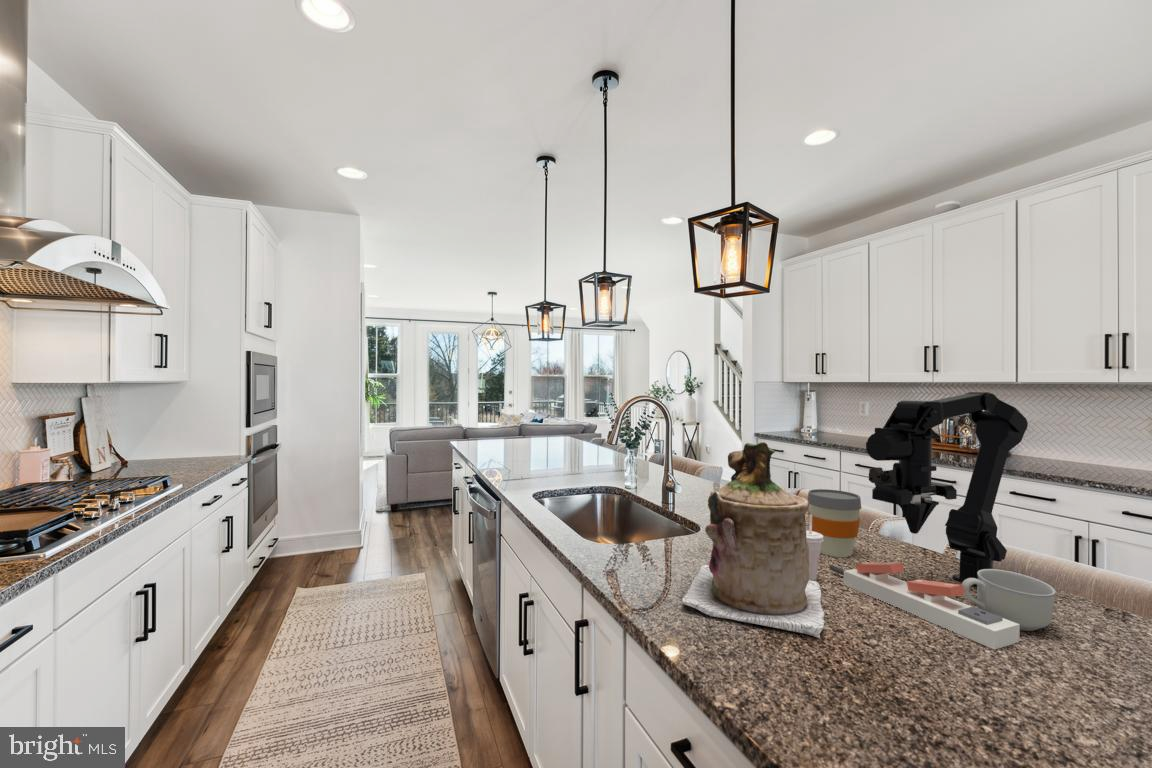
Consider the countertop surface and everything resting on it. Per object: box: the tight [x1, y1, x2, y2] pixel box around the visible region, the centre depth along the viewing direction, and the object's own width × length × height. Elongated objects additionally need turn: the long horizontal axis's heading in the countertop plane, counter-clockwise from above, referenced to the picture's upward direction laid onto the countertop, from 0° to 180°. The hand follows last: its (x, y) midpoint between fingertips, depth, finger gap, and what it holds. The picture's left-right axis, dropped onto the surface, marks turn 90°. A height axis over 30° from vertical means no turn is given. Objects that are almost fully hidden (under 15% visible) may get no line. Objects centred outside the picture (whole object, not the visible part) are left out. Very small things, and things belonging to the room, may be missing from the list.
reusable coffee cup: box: [807, 488, 862, 558], centre depth 128 cm, size 13×13×15 cm
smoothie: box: [806, 515, 824, 581], centre depth 110 cm, size 6×6×14 cm
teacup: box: [961, 568, 1057, 632], centre depth 90 cm, size 14×11×8 cm
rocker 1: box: [855, 561, 905, 574], centre depth 103 cm, size 4×8×2 cm, turn 22°
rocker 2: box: [906, 579, 965, 598], centre depth 92 cm, size 4×8×2 cm, turn 22°
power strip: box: [829, 564, 1021, 651], centre depth 97 cm, size 7×34×4 cm, turn 22°
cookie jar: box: [682, 441, 826, 640], centre depth 98 cm, size 25×25×32 cm
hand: (914, 533), depth 104 cm, fingers closed
